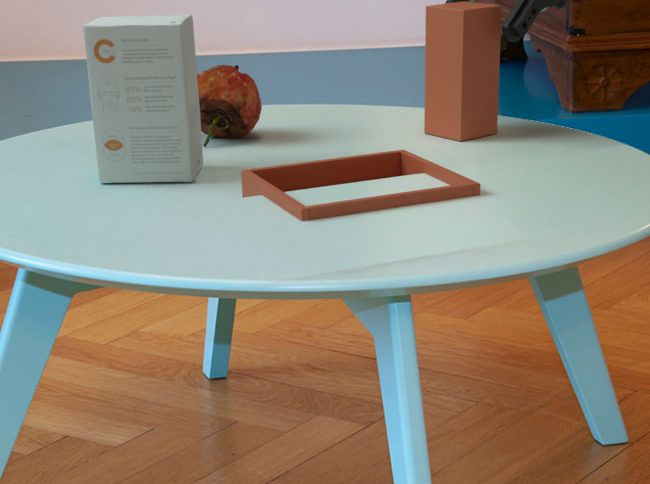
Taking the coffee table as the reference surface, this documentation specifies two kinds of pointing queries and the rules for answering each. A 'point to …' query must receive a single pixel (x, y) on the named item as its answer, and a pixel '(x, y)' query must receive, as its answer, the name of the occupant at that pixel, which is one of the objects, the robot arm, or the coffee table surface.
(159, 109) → the small box
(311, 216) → the terracotta frame
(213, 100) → the red round fruit
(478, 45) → the terracotta block
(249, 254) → the coffee table surface
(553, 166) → the coffee table surface
